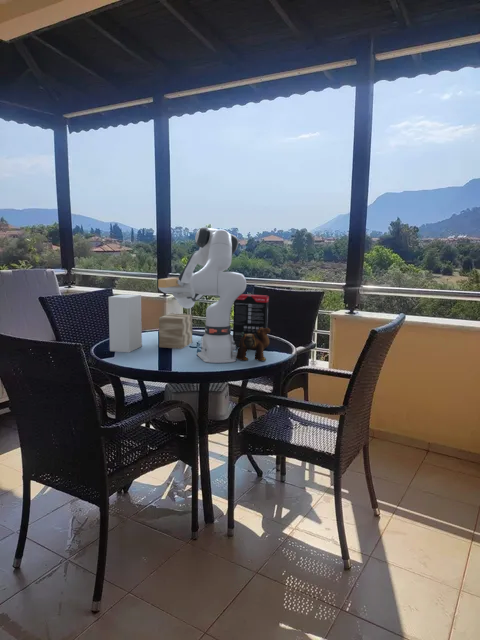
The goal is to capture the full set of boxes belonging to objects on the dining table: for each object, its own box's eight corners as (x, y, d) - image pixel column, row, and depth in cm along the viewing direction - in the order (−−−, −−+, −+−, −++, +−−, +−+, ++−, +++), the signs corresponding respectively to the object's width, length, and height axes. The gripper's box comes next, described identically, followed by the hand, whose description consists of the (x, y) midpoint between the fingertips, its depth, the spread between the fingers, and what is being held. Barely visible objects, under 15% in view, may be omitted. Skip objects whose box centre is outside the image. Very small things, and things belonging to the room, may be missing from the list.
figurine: (269, 363, 193) (270, 329, 191) (234, 361, 194) (235, 328, 192) (269, 358, 202) (270, 325, 200) (237, 356, 204) (237, 324, 201)
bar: (171, 285, 236) (171, 277, 236) (178, 285, 235) (178, 277, 235) (158, 287, 218) (158, 279, 217) (165, 287, 217) (165, 279, 216)
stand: (123, 345, 223) (122, 294, 219) (141, 346, 221) (141, 295, 217) (109, 351, 210) (108, 296, 206) (129, 352, 208) (128, 297, 204)
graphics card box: (267, 347, 224) (269, 294, 220) (265, 350, 218) (266, 295, 214) (235, 345, 228) (236, 293, 224) (232, 348, 222) (232, 294, 218)
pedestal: (170, 341, 236) (170, 313, 233) (192, 342, 233) (192, 314, 231) (159, 347, 220) (159, 317, 218) (182, 348, 218) (182, 318, 216)
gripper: (163, 286, 247) (155, 275, 235) (198, 287, 243) (192, 276, 231) (161, 296, 245) (153, 285, 233) (196, 298, 241) (190, 286, 229)
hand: (172, 280), depth 232 cm, fingers closed on bar, 4 cm apart
